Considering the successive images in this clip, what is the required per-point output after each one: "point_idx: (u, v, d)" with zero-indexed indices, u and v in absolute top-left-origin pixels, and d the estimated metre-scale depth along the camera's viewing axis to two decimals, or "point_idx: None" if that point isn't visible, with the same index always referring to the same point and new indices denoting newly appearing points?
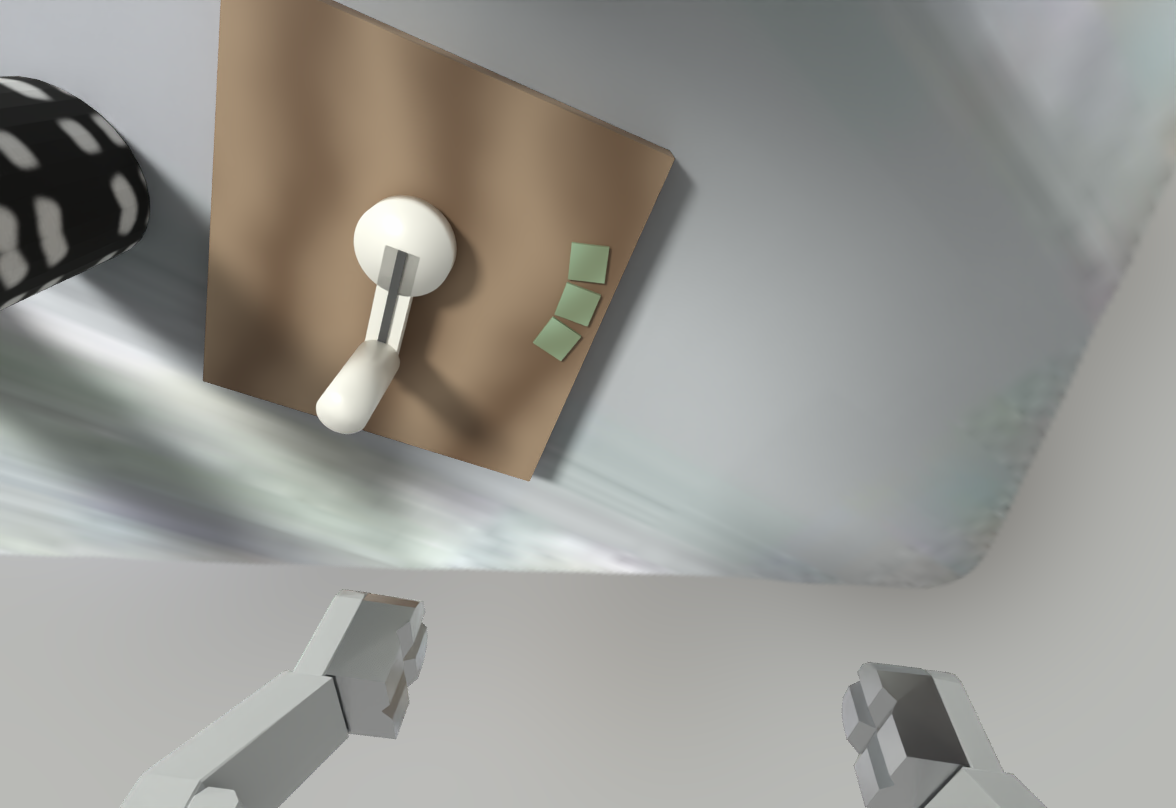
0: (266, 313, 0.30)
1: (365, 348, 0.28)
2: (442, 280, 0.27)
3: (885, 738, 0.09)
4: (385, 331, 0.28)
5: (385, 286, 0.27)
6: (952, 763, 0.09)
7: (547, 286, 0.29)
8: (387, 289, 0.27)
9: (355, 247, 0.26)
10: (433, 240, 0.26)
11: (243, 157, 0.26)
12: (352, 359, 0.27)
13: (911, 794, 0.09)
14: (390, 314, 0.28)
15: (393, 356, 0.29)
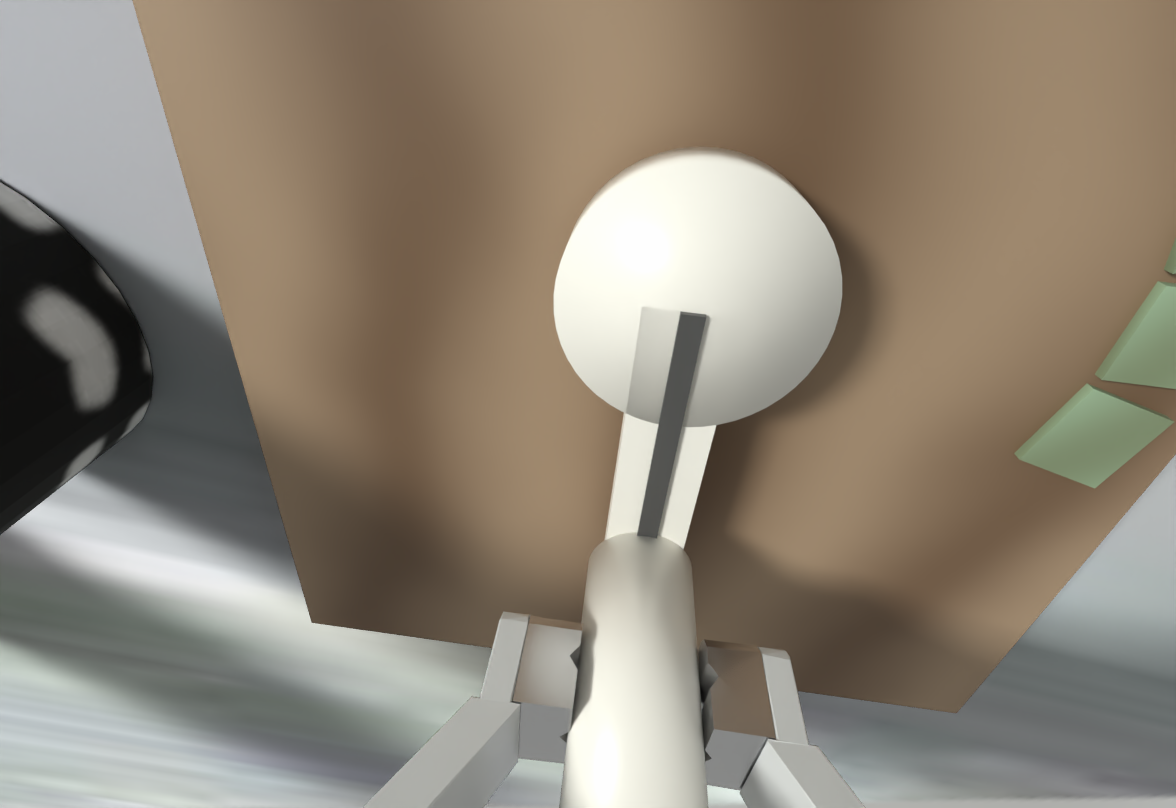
0: (388, 499, 0.14)
1: (620, 571, 0.11)
2: (809, 365, 0.09)
3: (705, 713, 0.09)
4: (656, 513, 0.11)
5: (649, 413, 0.10)
6: (759, 736, 0.09)
7: (1085, 309, 0.10)
8: (654, 419, 0.10)
9: (562, 332, 0.09)
10: (786, 259, 0.08)
11: (249, 173, 0.10)
12: (602, 619, 0.10)
13: (730, 768, 0.09)
14: (667, 477, 0.11)
15: (682, 567, 0.12)
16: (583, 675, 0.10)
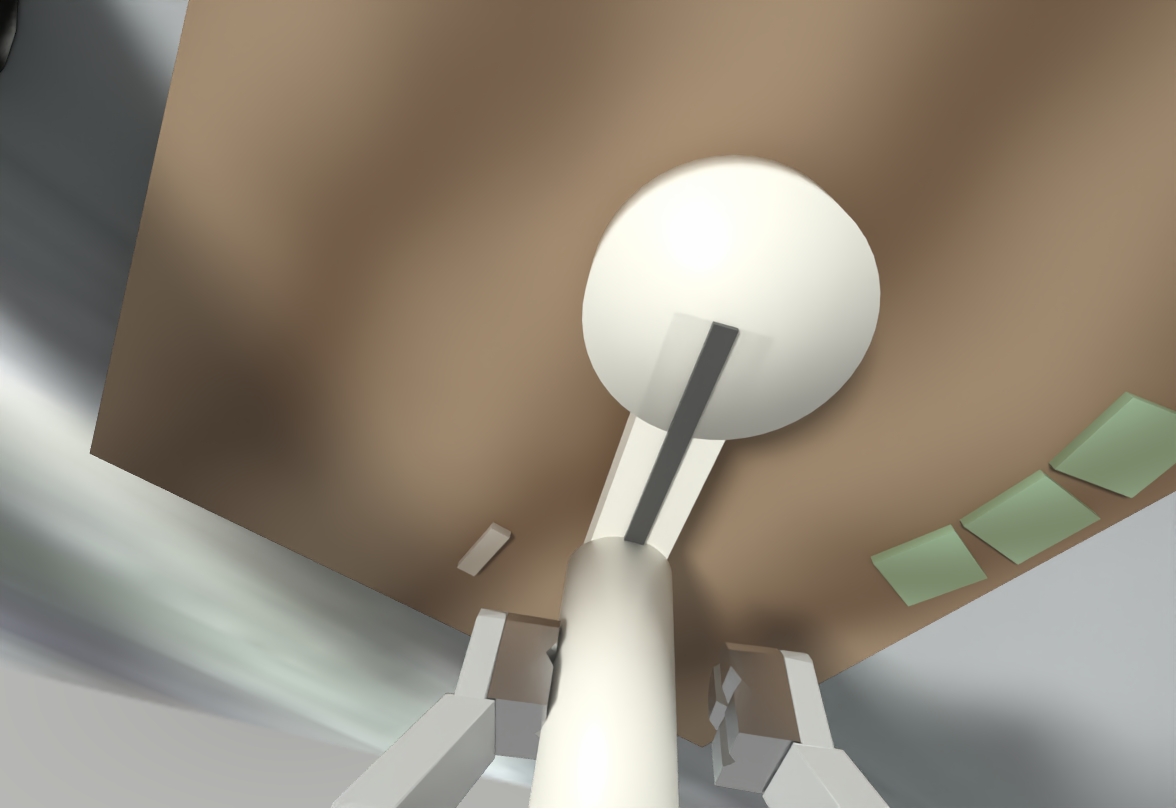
0: (272, 357, 0.12)
1: (605, 575, 0.11)
2: (829, 393, 0.09)
3: (728, 716, 0.09)
4: (648, 520, 0.11)
5: (660, 420, 0.10)
6: (784, 739, 0.09)
7: (984, 467, 0.12)
8: (665, 427, 0.10)
9: (588, 324, 0.09)
10: (829, 284, 0.08)
11: None
12: (585, 623, 0.10)
13: (754, 771, 0.09)
14: (666, 485, 0.11)
15: (665, 577, 0.11)
16: (561, 679, 0.09)
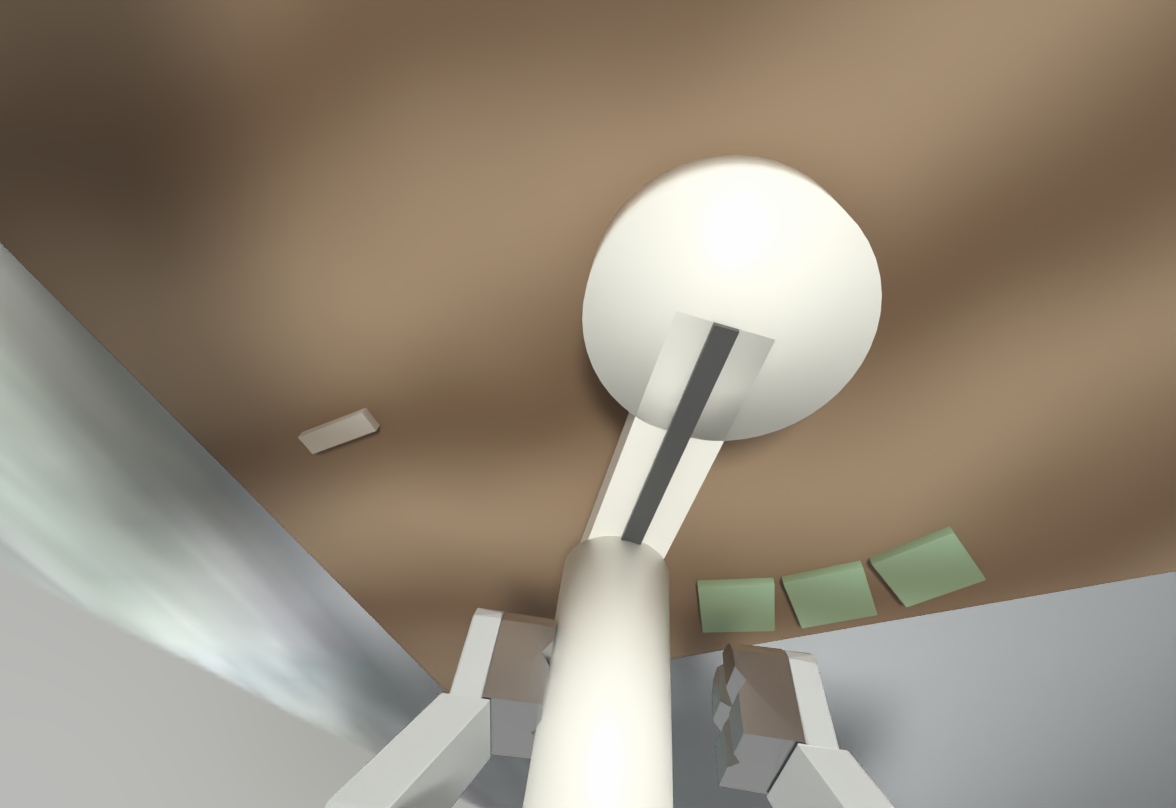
0: (198, 101, 0.09)
1: (602, 574, 0.11)
2: (829, 395, 0.09)
3: (732, 717, 0.09)
4: (645, 520, 0.11)
5: (659, 420, 0.10)
6: (789, 740, 0.09)
7: (824, 542, 0.13)
8: (664, 427, 0.10)
9: (588, 324, 0.09)
10: (830, 287, 0.08)
11: None
12: (581, 622, 0.10)
13: (758, 772, 0.09)
14: (664, 485, 0.11)
15: (662, 577, 0.11)
16: (557, 678, 0.09)
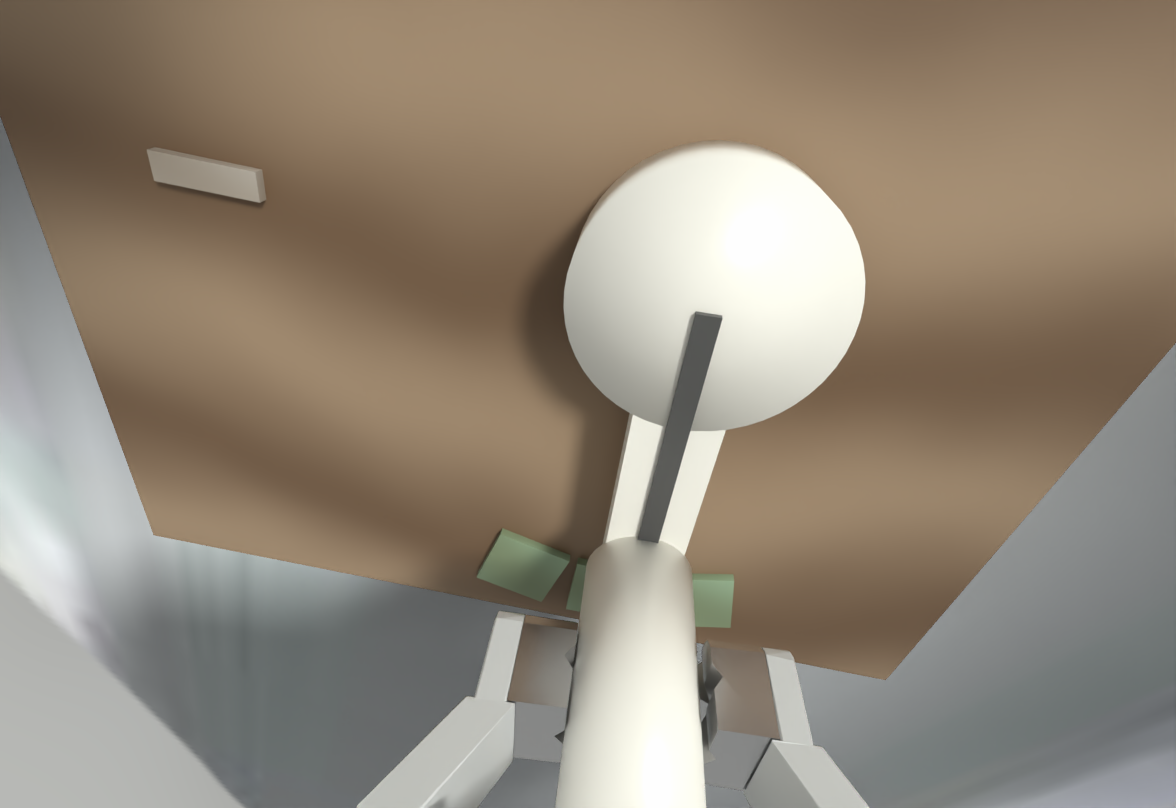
0: None
1: (620, 576, 0.11)
2: (825, 372, 0.09)
3: (709, 713, 0.09)
4: (659, 517, 0.11)
5: (657, 415, 0.10)
6: (764, 736, 0.09)
7: None
8: (662, 422, 0.10)
9: (572, 327, 0.09)
10: (809, 261, 0.08)
11: None
12: (601, 626, 0.10)
13: (734, 769, 0.09)
14: (672, 481, 0.10)
15: (683, 573, 0.11)
16: (580, 684, 0.09)
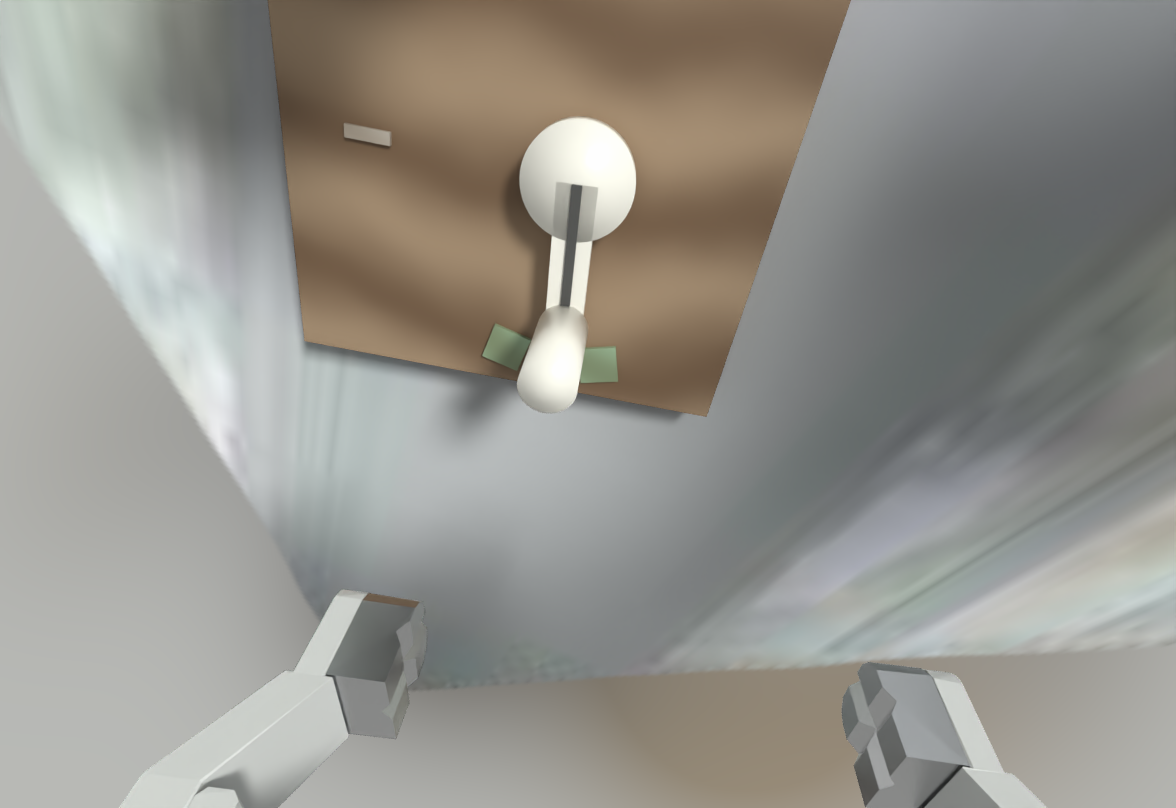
0: None
1: (550, 315, 0.24)
2: (627, 209, 0.22)
3: (884, 738, 0.09)
4: (568, 291, 0.24)
5: (562, 235, 0.23)
6: (952, 763, 0.09)
7: None
8: (564, 238, 0.23)
9: (523, 193, 0.22)
10: (611, 160, 0.21)
11: None
12: (540, 328, 0.23)
13: (911, 794, 0.09)
14: (572, 269, 0.24)
15: (581, 319, 0.24)
16: (530, 344, 0.22)
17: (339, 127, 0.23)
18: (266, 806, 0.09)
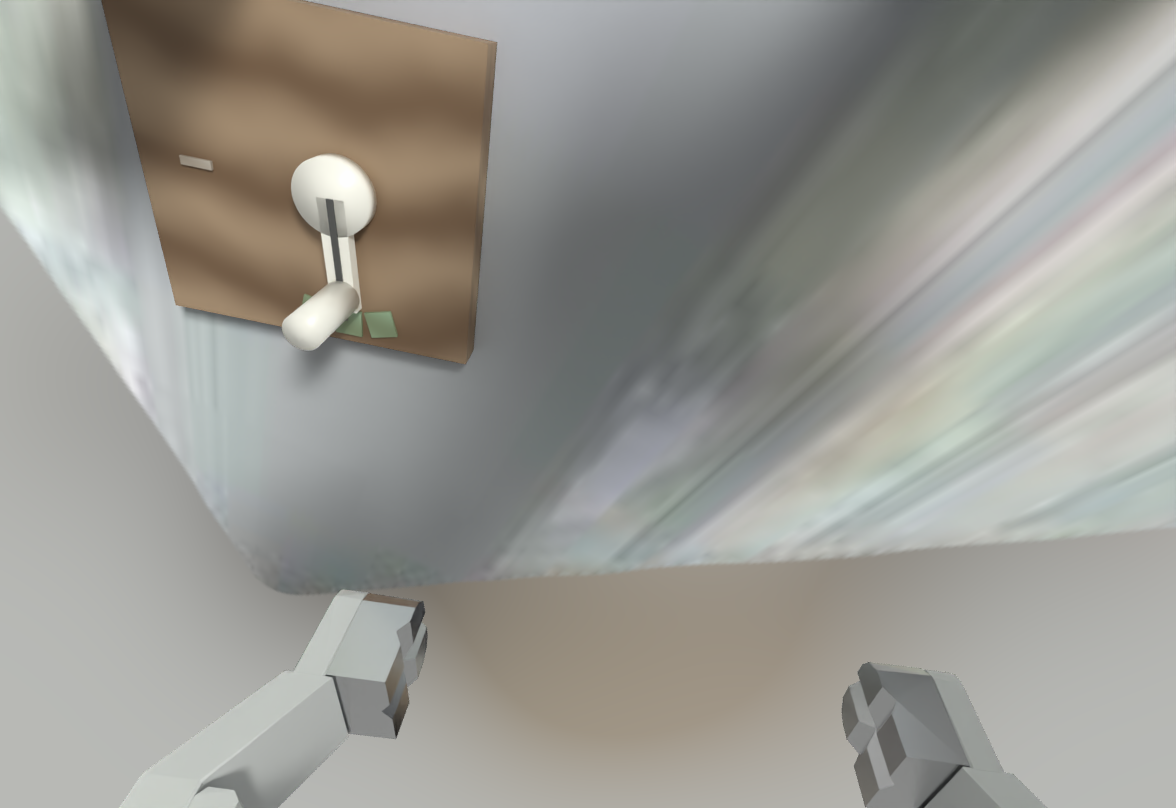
0: (212, 48, 0.30)
1: (325, 286, 0.35)
2: (365, 216, 0.33)
3: (884, 738, 0.09)
4: (339, 270, 0.35)
5: (327, 232, 0.34)
6: (952, 763, 0.09)
7: None
8: (329, 234, 0.34)
9: (296, 204, 0.33)
10: (348, 183, 0.32)
11: (349, 42, 0.30)
12: None
13: (911, 794, 0.09)
14: (338, 255, 0.35)
15: (350, 290, 0.35)
16: None
17: (177, 157, 0.34)
18: (266, 806, 0.09)
